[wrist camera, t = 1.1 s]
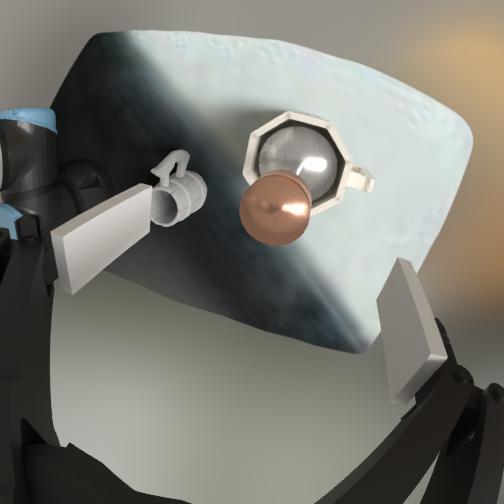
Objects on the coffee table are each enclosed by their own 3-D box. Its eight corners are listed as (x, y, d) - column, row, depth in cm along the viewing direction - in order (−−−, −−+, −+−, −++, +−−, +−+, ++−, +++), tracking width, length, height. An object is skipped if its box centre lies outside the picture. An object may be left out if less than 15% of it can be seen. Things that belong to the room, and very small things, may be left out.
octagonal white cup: (257, 179, 47) (235, 202, 36) (273, 105, 41) (255, 102, 30) (351, 206, 45) (359, 238, 34) (373, 133, 39) (392, 141, 28)
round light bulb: (253, 189, 36) (196, 255, 21) (269, 118, 32) (216, 124, 16) (324, 210, 35) (322, 293, 20) (345, 138, 31) (368, 164, 15)
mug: (169, 206, 53) (134, 232, 43) (171, 143, 47) (131, 155, 37) (207, 213, 52) (177, 241, 41) (211, 147, 46) (179, 159, 36)
